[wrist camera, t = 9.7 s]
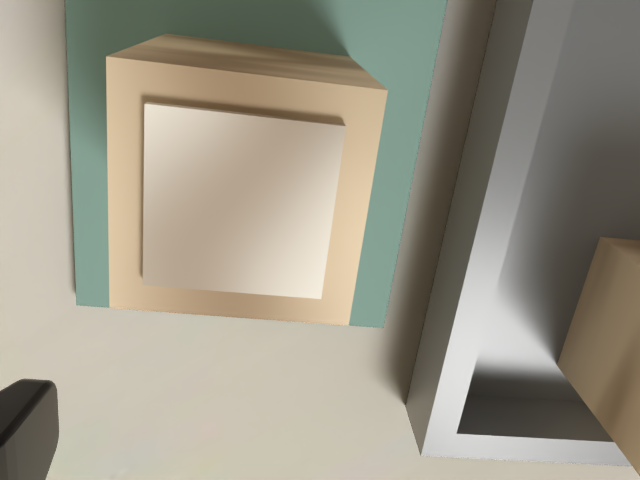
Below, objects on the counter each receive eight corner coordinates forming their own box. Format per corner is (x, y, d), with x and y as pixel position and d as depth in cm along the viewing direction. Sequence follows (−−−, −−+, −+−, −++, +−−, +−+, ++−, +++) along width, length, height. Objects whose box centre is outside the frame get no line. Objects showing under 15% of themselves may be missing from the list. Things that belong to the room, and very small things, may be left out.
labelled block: (349, 56, 16) (389, 92, 10) (326, 223, 18) (349, 330, 12) (166, 33, 16) (102, 57, 10) (161, 208, 18) (106, 313, 12)
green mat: (456, -69, 15) (461, -69, 15) (381, 322, 20) (383, 327, 20) (65, -129, 14) (59, -132, 14) (80, 299, 19) (76, 305, 19)
